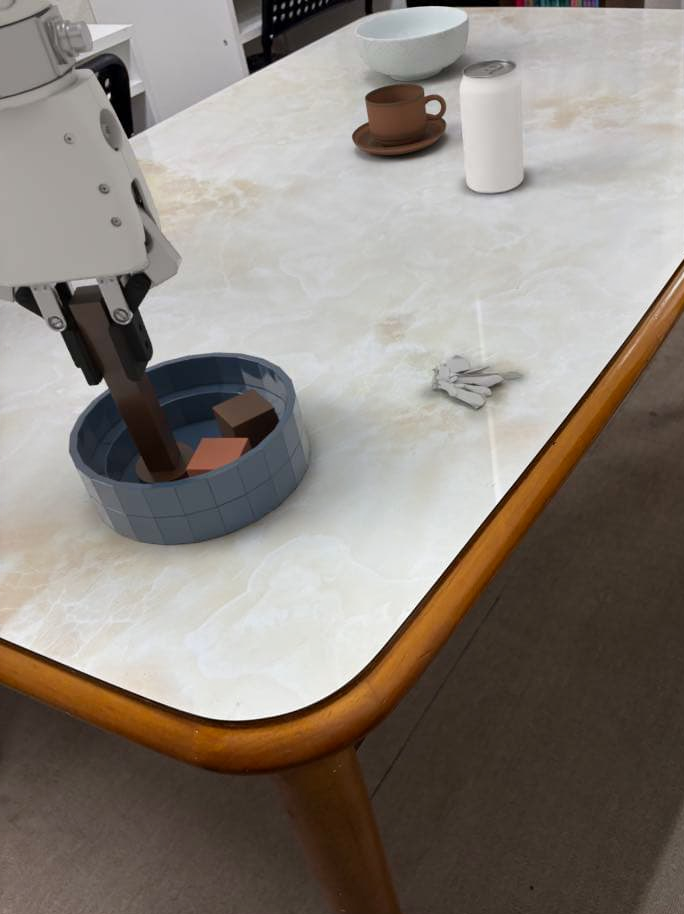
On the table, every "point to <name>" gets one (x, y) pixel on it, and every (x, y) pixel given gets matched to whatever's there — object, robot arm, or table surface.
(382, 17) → the cereal bowl
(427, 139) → the cup and saucer
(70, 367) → the table surface
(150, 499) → the bowl
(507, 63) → the can
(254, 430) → the block walnut
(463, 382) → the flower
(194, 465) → the block terracotta
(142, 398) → the stirrer
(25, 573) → the table surface
